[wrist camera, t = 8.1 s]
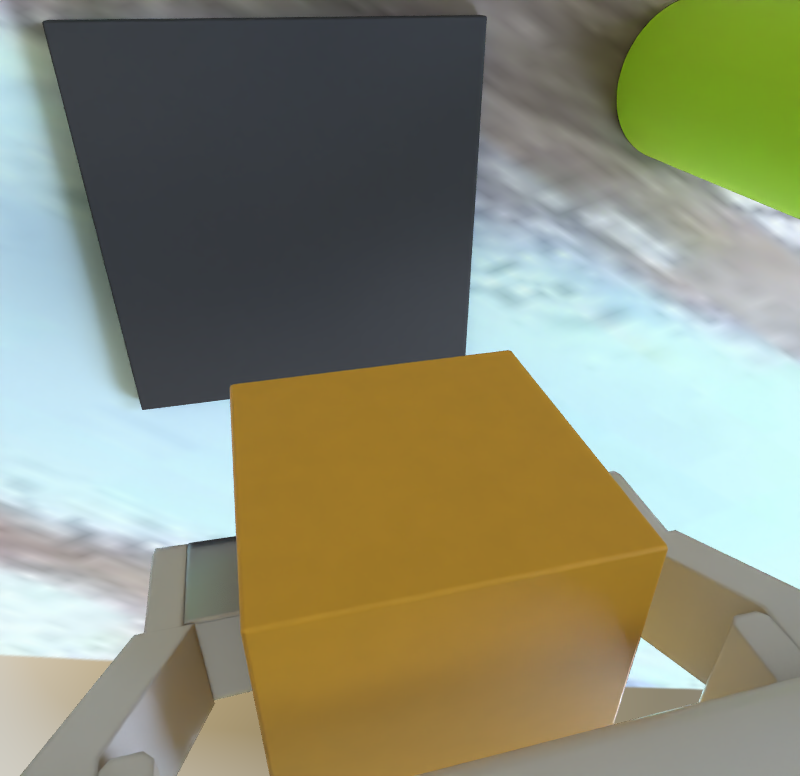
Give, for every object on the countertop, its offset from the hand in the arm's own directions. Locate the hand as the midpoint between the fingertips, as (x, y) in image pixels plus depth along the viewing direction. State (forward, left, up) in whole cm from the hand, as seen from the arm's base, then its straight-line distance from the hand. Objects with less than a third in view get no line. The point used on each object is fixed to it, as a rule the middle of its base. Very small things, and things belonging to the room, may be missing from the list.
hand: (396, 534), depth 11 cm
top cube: (0, 0, -2) cm, 2 cm away
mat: (0, 0, -17) cm, 17 cm away
